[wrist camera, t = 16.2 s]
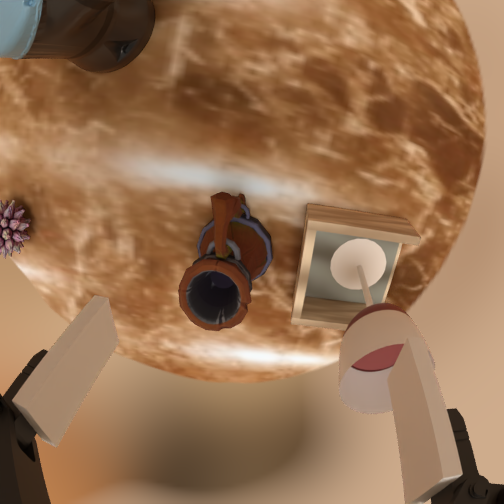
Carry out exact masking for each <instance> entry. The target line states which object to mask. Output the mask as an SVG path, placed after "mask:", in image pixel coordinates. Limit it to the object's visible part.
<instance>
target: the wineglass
mask: <svg viewBox="0 0 504 504" xmlns="http://www.w3.org/2000/svg"><path fill="white" fill-rule="evenodd" d="M385 267H386V257H385V253H384V252H383V250H382V248H381V247H380V246H379V245H378V244H376V243H375V242H373V241H371V240H368V239H354V240H350V241H347V242H346V243H344V244H343V245H341V246H340V247H339V248H338V249H337V250H336V251H335V253H334V255H333V257H332V259H331V267H330V269H331V272H332V276H333V277H334V279H335V280H336V282H337V283H339V284H340V285H341V286H343V287H345V288H348V289H354V290H360V289H362V290H363V294H364V298H365V302H366V306H367V307H366V308H364V309H363V310H362V311H360V312H359V313H358V314H357V315H356V316H355V317H354V318H353V319H352V320H351V322H350V323H349V325H348V327H347V329H346V331H345V333H344V335H343V339H342V342H341V347H340V357H339V393H340V397H341V400H342V401H343V403H344V404H345V405H346V406H347V407H349V408H350V409H352V410H354V411H356V412H360V413H366V414H378V413H385V412H389V411H393V408H392V403H391V397H390V392H389V387H388V382H387V378H388V376H389V374H390V372H391V370H392V368H393V366H394V364H395V362H396V360H397V358H398V356H399V354H400V352H401V350H402V348H403V346H404V343H405V341H406V339H407V337H416V338H423V340H424V343H425V346H426V348H427V351H428V354H429V357H430V360H431V362H432V365H433V368H434V371H435V362H434V359H433V356H432V354H431V351H430V349H429V347H428V345H427V343H426V341H425V339H424V337H423V335H422V334H421V332H420V330H419V328H418V327H417V325H416V324H415V323H414V321H413V320H412V319H411V318H410V316H409V315H408V314H407V313H406V312H405V311H404V310H402V309H401V308H400V307H398V306H396V305H393V304H389V303H378V304H373V301H372V298H371V294H370V291H369V288H368V287H370V286H371V285H373V284H375V283H376V282H377V281H378V280H379V279H380V278H381V277H382V275H383V273H384V271H385Z"/></svg>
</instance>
